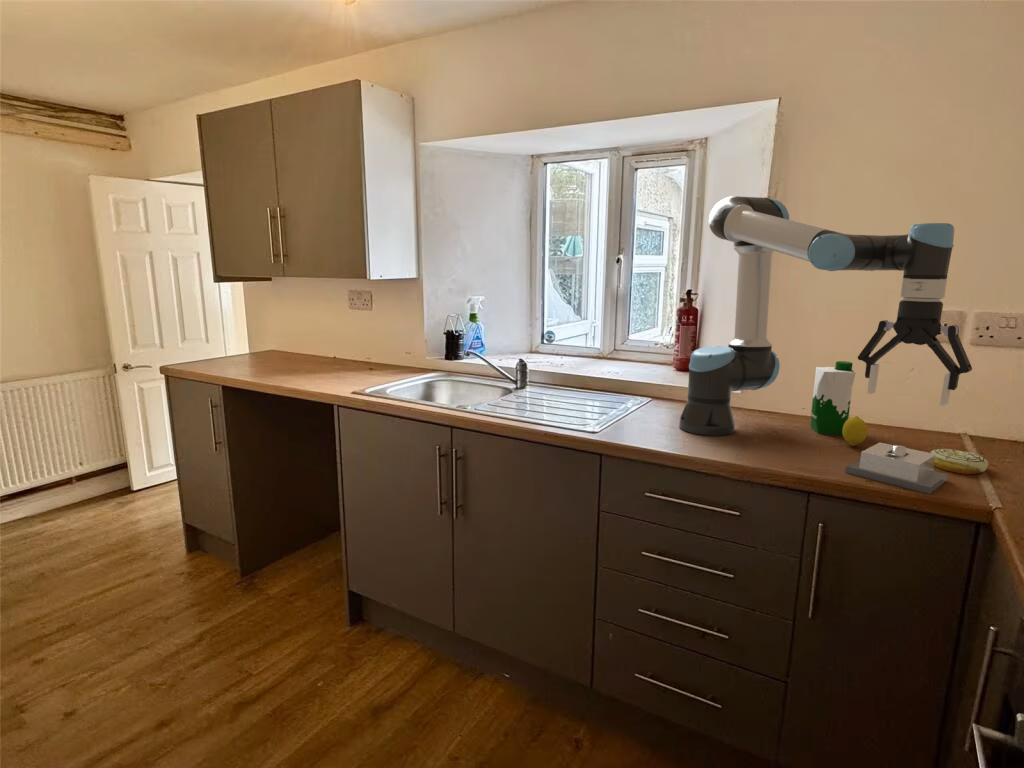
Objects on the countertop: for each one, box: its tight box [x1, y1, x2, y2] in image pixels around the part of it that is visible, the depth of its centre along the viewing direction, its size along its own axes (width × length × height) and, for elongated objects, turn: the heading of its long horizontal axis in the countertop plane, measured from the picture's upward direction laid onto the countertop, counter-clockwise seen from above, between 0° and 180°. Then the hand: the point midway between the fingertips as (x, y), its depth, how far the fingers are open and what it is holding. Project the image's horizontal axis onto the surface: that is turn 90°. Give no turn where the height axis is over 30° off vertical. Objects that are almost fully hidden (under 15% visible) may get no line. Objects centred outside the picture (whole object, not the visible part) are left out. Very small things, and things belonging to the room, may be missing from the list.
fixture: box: [844, 444, 948, 495], centre depth 125 cm, size 16×12×7 cm
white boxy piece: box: [859, 442, 936, 483], centre depth 125 cm, size 11×11×4 cm
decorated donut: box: [930, 448, 989, 475], centre depth 131 cm, size 10×11×4 cm
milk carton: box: [810, 360, 856, 436], centre depth 159 cm, size 9×9×20 cm
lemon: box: [842, 415, 868, 447], centre depth 147 cm, size 6×6×8 cm
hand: (906, 398), depth 122 cm, fingers open, 13 cm apart
